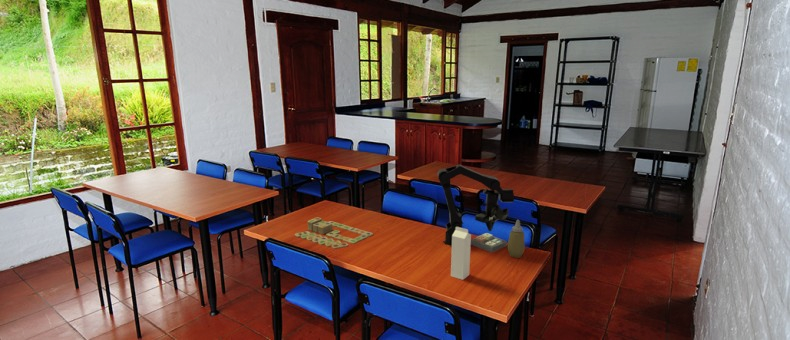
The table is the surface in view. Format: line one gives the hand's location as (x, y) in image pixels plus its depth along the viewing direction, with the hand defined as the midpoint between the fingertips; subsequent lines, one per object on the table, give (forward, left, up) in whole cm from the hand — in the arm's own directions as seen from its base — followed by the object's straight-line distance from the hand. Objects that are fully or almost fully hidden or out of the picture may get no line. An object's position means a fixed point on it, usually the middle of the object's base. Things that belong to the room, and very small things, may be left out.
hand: (489, 230), depth 216 cm
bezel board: (-2, -1, -7) cm, 7 cm away
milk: (-38, -13, -7) cm, 41 cm away
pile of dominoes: (-54, +62, -8) cm, 83 cm away
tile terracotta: (-5, +2, -4) cm, 7 cm away
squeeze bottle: (-2, -17, -7) cm, 19 cm away
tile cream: (-5, -4, -6) cm, 9 cm away
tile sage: (0, +2, -4) cm, 5 cm away
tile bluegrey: (0, -4, -6) cm, 7 cm away
